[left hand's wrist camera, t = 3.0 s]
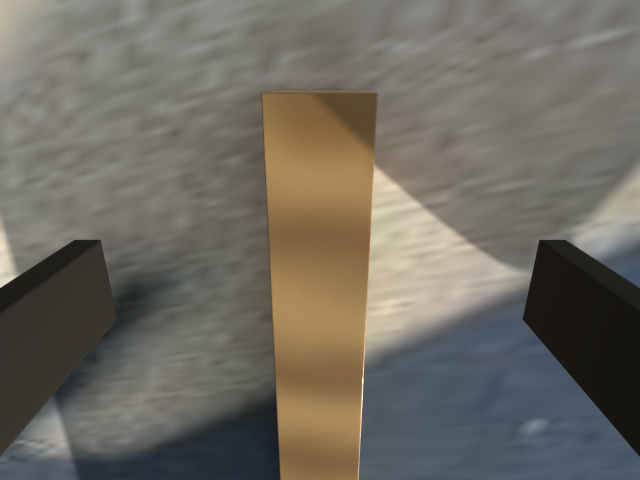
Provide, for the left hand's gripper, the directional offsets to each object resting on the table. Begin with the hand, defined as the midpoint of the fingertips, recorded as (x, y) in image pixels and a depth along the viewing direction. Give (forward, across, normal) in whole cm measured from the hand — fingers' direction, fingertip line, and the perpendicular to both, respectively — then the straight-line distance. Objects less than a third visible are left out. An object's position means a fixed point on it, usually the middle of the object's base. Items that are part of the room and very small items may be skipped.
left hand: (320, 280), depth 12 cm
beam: (+16, 0, -28) cm, 33 cm away
